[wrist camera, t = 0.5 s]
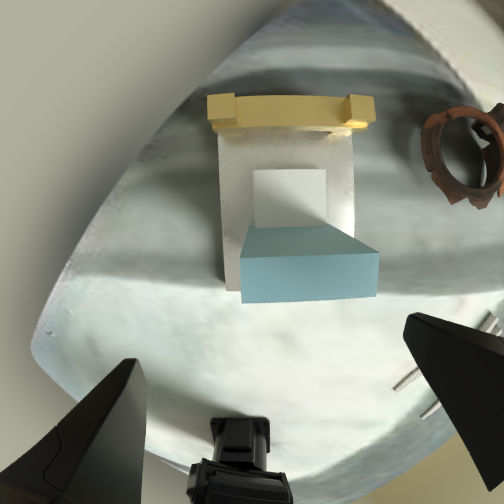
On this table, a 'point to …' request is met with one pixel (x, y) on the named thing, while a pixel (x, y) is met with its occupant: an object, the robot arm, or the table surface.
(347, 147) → the block holder base
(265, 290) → the clip bar
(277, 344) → the table surface
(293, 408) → the table surface
